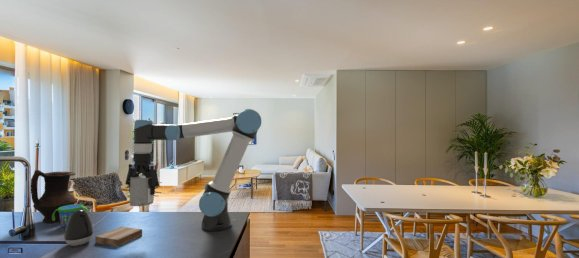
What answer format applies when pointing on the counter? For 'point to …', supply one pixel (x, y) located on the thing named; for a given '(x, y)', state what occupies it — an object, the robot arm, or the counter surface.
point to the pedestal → (118, 236)
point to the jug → (52, 194)
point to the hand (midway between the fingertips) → (141, 200)
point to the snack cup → (67, 212)
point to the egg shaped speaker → (78, 228)
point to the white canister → (139, 191)
